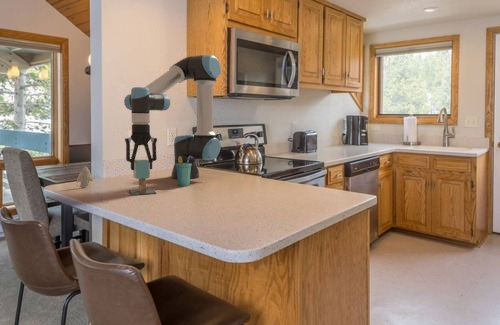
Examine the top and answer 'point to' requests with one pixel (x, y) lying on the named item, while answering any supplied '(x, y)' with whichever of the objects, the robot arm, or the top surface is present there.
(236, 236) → the top surface
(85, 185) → the arrowhead
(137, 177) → the teal rectangular block
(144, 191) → the tan and gray stand
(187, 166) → the cup
